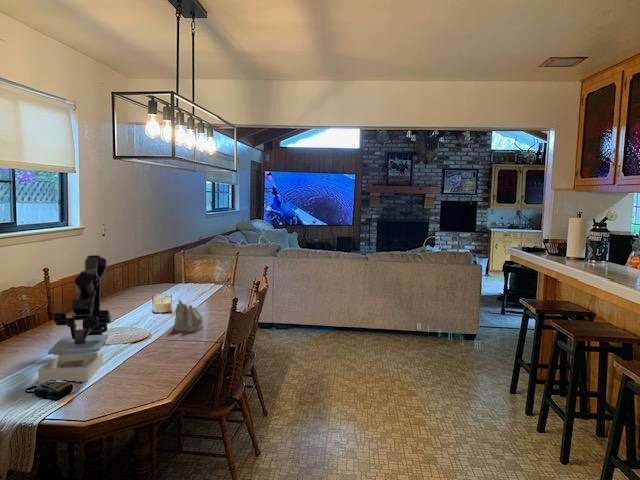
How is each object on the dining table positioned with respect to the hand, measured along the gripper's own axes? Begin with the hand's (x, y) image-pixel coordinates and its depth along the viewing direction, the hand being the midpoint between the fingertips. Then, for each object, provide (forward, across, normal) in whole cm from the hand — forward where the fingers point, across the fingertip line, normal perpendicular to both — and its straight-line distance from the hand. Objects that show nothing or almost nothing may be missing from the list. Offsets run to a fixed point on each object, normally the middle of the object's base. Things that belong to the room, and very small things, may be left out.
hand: (78, 338), depth 161 cm
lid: (+2, 0, +4) cm, 4 cm away
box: (+9, -3, +10) cm, 14 cm away
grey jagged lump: (-27, +37, +47) cm, 66 cm away
